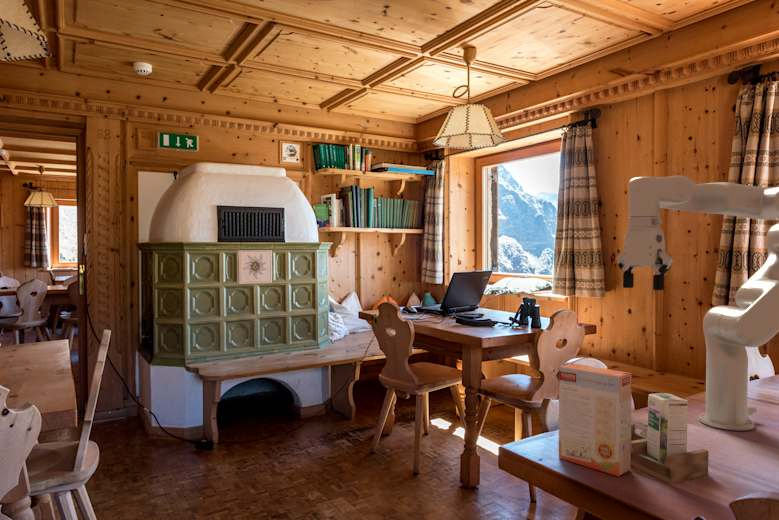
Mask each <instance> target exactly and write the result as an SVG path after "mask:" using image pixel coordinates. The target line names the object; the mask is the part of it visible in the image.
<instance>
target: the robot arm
mask: <svg viewBox="0 0 779 520" xmlns="http://www.w3.org/2000/svg"><path fill="white" fill-rule="evenodd" d="M627 206H628V208H627V209H628V214H627V215H628V218H627V219H628V220H627V229H626V232H625V238H624V245H623V246H624V247H623V252H622V253H620V254H619V255H617V256H616V257H615V258H616V262H617V264H618V268H619V269H620V270H621V271H620V272H621V274H622V287H623V289H629V288H630V289H631V288H634V286H635V285H634V283H635V282H634V281H635V280H634V279H635V278H634V272H633V271H634V269H635V268H636V267H637V268H639V267H640V268H651V269H652V271H653V273H655V274H653V275H652V276H653V277H652V290H653V291H664V290H665V275H667V274H668V271H669V270H670V269H671V266H672V264H673V262H674V257H673V256H671V255H670V254H668V253H666V239H665V236H664V231H663V229H662V228H660V225H662V223H663V220H662V219H661V217H660V216H661V212H660V211H661V210H660V209H667V210H675V211H684V212H693V213H694V212H697V213H703V214H713V215H715V214H716V215H724V216H731V217H732V216H733V217H738V218H740V217H741V218H746V219H751V220H760V221H761V220H762V221H764V220H765V221H767V220H779V186H771V187H762V186H756V185H749V184H748V185H747V184H740V183H735V182H728V181H727V182H726V181H725V182H724V181H722V182H721V181H720V182H708V183H697V184H695V183H694V181H693V180H692V179H691V178H689V177H687V176H685V175H671V176H662V177H660V176H659V177H656V176H638V177H637V176H636V177H633V178H631V179H630V180H629V182H628V205H627ZM765 236H766V237H765V242H766V248H767V257H766V260H765V262H764V263H763V265H761V267H759V269H758V270H757V271H756V272H754V273H753V274H752V275H751V276H750V277H749V278H748V279H747V280H746V281H745V282H743V284H742V285H740V287H739V288H738V290H737V291H736V293H735V297H734V301H735V303H736V305H737V306H738V307H737V306H732V305H717V306H713V307H712V308H710V309H709V310H707V312H706V313H705V314H704V316H703V320H702V330H703V334H704V340H705V347H706V348H705V349H706V351H705V352H706V357H705V359H706V361H705V362H706V363H705V365H706V366H705V367H706V369H705V412H702V413H701V414H699V415H698V420H699V421H700V422H701V423H703V424H704V425H706V426H708V427H712V428H717V429H720V430H725V431H726V430H728V431H738V432H740V431H741V432H742V431H750V430H753V429H755V423H754V421H752V419H749V416H751V415H755V414H757V411H758V410H757V408H756V407H754V406H750V407H749V406H748V383H749V382H748V380H749V379H748V375H749V357H748V352H747V349H746V348H757V347H758V348H759V347H761V346H763V345H765V344H766V343H768V342H769V341H770V340H771V339H773V338H774V337H775V335H777V334H778V333H779V222H778V223H775V224H773V225H772V226H771V227H770V228H769V229H768V231H767V233H766V235H765Z"/></svg>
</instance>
